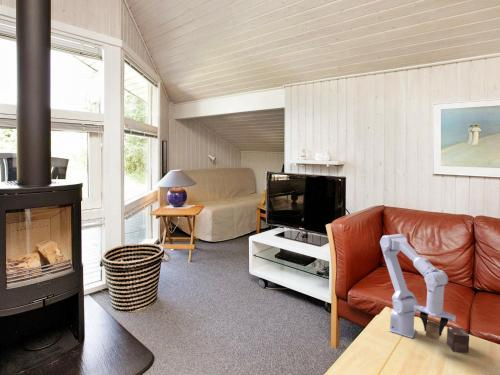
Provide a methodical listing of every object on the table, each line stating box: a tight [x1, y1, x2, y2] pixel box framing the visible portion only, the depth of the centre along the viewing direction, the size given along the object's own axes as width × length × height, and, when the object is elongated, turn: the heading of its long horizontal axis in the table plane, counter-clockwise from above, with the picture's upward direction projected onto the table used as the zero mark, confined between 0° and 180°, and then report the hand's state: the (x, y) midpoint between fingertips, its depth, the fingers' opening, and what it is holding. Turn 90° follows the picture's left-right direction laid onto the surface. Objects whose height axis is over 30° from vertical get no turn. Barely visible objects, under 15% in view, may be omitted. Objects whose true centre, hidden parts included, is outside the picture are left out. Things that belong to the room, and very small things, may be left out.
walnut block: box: [425, 319, 440, 341], centre depth 127 cm, size 4×4×5 cm
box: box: [446, 326, 470, 354], centre depth 129 cm, size 6×6×7 cm
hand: (433, 332), depth 128 cm, fingers closed on walnut block, 4 cm apart
